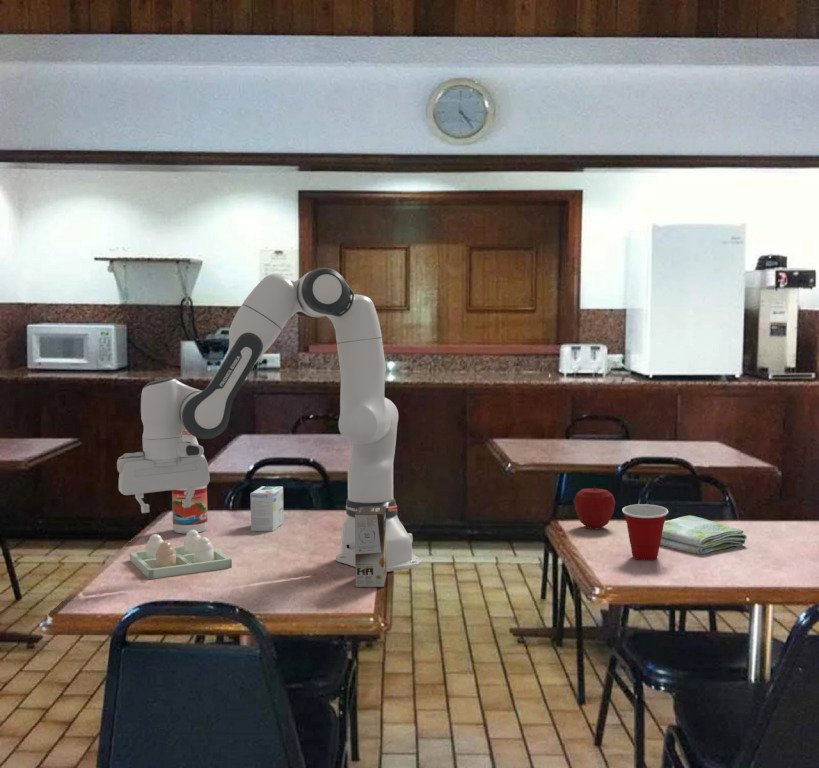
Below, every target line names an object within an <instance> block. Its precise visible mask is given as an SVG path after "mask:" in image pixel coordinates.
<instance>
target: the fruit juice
mask: <svg viewBox="0 0 819 768" xmlns="http://www.w3.org/2000/svg"><path fill="white" fill-rule="evenodd" d="M182 439H183V441H184V442H185V441H187V442H191V443H193V444H197V445H200V444H199V442H198V438H197V437H195V436H193V435H191V434H190V433H189V432H188V431H183V432H182ZM201 456H203V457H204V458H205V459H206V457H205V454H203V455H201ZM207 490H208V485H207V486H201V487H195V493H194V495H193V497H192V499H191V500H190V502H191V507H188V508H183V506H182V504H183V503H182V500H183V499H186V497H187V494H188V492H187V491H186V488H184V489H176V490H171V498H172V500H171V501H172V502H171V503H172V504H171V505H172V506H171V507H172V511H171V512H172V529H173V530H172V531H173V532H174V533H177V534H184V535H187V533H188V532H189V531H190V530H196V531H197V532H198V533H202V532H205V531H207V530H208V491H207Z"/></svg>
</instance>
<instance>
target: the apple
mask: <svg viewBox="0 0 819 768" xmlns="http://www.w3.org/2000/svg"><path fill="white" fill-rule="evenodd" d="M595 487H596V486H595V485H594V487H593V488H591V487H590V488H582V489H580V490H579V491H578V492H577V493H576V494H575V496H574V499H573V505H574V509H575V512H576V515H577V517H578V519H579V521H580V523H581V525H583V526H585V527H586V528H587V529H590V530H600V529H602V528H603V527H606V525H608V524H609V523H610V520H611V518H612V517H613V515H614V512H615V505H616V501H615V497H614V495H613V494H612V492H610V491H609V490H607V489H602V488H595Z"/></svg>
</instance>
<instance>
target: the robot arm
mask: <svg viewBox="0 0 819 768" xmlns="http://www.w3.org/2000/svg"><path fill="white" fill-rule="evenodd" d="M295 314H297V315H300V316H303V317H307V318H310V319H319V318H324V317H327V318H328V319H329V320H330V321H331V323H332V325H333V328H334V331H335V340H336V347H337V356H338V364H339V365H338V366H339V371H340V372H339V373H340V389H339V390H340V398H339V399H340V400H339V407H340V408H339V411H340V412H339V418H338V430H339V433H340V435H341V436H342V438H343V439H344V440H346V442H348V443H350V444H352V445H351V450H350V458H349V461H348V465H347V499H346V501H345V503H346V504H345V509H346V511H345V513H346V515H347V516H346V519H345V521H344V523H343V524H342V525H341V533H340V534H341V535H340V536H341V537H340V548H339V549H340V551H339V553H338V554H337V555H335V561H336V562H339V563H342V564H345V565H349V566H350V567H354V568H356V566H355V513H356V511H357V509H358V508H359V507H368V506H385V507H386V573H389V572H397V571H402V570H403V571H404V570H408V569H414V568H417V567H421V566H422V565H423V560H422V559H421V558H420V557H418V556H417V555H416V554H415V553H413V546H412V545H413V544H412V543H413V541H414V538H413V533H411V532H409V533H408V532H407V530H406V528H405V527H404V525H403V524H402V522H401V520H400V519H399V516H398V505H397V503H396V499H395V498H394V461H395V453H396V445H397V436H398V435H397V433H398V423H399V411H398V408H397V406H396V405H395V404H394V402H393V401H392V400H391V399H389V398H387V397H386V396H385V389H386V388H385V387H386V385H385V383H386V381H385V380H386V373H387V368H386V365H387V364H386V360H385V358H386V357H385V352H384V344H383V343H384V342H383V337H382V336H383V335H382V329H381V325H380V320H379V317H378V313H377V310H376V307H375V304H374V302H373V301H372V299H371V298H370V297H368V296H366V295H363V294H355V293H354V291H353V290H352V288H351V287H350V286H349V284H348V283H347V282H346V280H345V278H344V277H343V275H341V274H340V273H339V272H338V271H337V270H334V269H332V268H329V267H318V268H315V269H313V270H311V271H308V272H307V273H305V274H304V275H303V276H301V278H299V279H297V280H295V281H294V280H290V279H289V278H288V277H286V276H283V275H282V274H275V273H272V274H271V273H270V274H268V275H266V276H264V277H263V278H262V280H260V281H259V282H258V283H257V285H256V286H255V287H254V288H253V289H252V291H251V292H250V293H249V294H248V296H247V297H246V298H245V299H244V301H243V303H242V304H241V305H240V307H239V308H238V310H237V311H236V314H235V315H234V317H233V319H232V322H231V324H230V327H229V328H228V329H229V330H228V337H229V339H228V340H229V341H228V343H229V344H228V350H227V352H226V355H225V358H224V359H223V361H222V362H221V365H220V366H219V367H218V369H217V371H216V372H215V374H214V376H213V377H212V379H211V381H210V382H209V383H208V385H207V386H206V387H205V389H203V390H201V389H198V388H194V387H192V386H189V385H187V384H184V383H183V382H181V381H179V380H177V379H176V378H175V377H164V378H159V379H155V380H151V381H150V382H148V383H147V384H146V385H144V387H143V388H142V391H141V394H140V395H141V397H140V416H141V417H140V419H141V422H142V425H143V426H142V427H143V433H142V437H141V438H142V439H141V440H142V451H137V452H136V451H135V452H126V453H123V455H121V456H119V457H118V459H117V461H116V469H117V472H118V473H119V475H118V492H120V494H122V495H124V496H131V495H134V498H135V499H136V501H137V502H138V503H139V505H140V511H141V514H147V513H150V511H151V510H150V504H148V503H145V502H144V501H143V499H144V497H145V496H144V494H149V493H157V492H165V491H172V490H176V489H184V488H186V491H187V492H188V494H187V497H186V499H183V500H182V503H183V504H182V506H183V508H188V507H191V502H190V500H191V499H192V497H193V495H194V493H195V487H201V486H207V487H208V485H209V483H210V480H211V479H210V478H211V475H210V470H209V469H210V468H209V463H208V461H207V459H206V457H205V456H204V457H205V458H204V457H203V456H201V455H204V452H205V451H204V447H203V446H202V445H200V444H199V445H197V444H193V443H191V442H187V441H185V442H184V441H183V439H182V432H183V431H188V432H189V433H190V434H191V435H193V436H195V437H196V439H202V440H210V439H214V438H216V437H217V436H220V435H221V434H222V433H223V432H224V431H225V430H226V428H227V426H228V425H229V421H230V417H231V410H232V405H233V403H234V399H235V398H236V395H237V394H238V392H239V391H240V389H241V387H242V386H243V384H244V382H245V381H246V379H247V377H248V376H249V375H250V372H251V371H252V369H253V368H254V366H255V365H256V363H258V362H259V360H260V358H262V356H264V355H265V353H266V352H267V351H268V350H269V348H270V347H271V346H272V345H273V344H274V342H275V341H276V340H277V338H278V337H279V336H280V334H281V333H282V331H283V330H284V327H285V326H286V324H287V323H288V322H289V320H290V319H291V318H292V317H293V316H294V315H295Z"/></svg>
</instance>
